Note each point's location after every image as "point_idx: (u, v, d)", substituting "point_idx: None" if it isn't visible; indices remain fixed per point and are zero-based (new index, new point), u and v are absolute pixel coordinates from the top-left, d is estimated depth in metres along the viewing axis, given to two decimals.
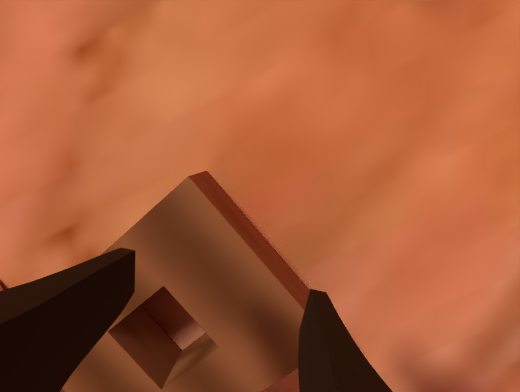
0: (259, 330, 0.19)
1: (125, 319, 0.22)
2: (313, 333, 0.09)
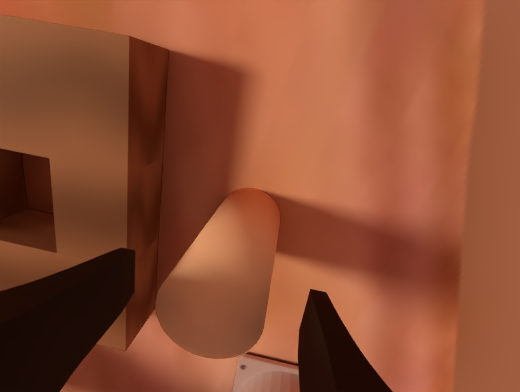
0: (56, 99, 0.14)
1: (3, 221, 0.19)
2: (313, 333, 0.09)
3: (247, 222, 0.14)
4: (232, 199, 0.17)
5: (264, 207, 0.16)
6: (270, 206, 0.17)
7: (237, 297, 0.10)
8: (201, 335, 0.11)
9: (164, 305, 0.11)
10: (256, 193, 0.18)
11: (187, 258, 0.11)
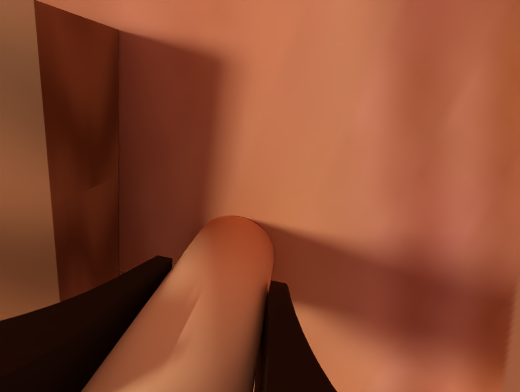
0: None
1: None
2: (266, 322, 0.10)
3: (221, 282, 0.09)
4: (207, 235, 0.12)
5: (251, 247, 0.12)
6: (259, 243, 0.13)
7: None
8: None
9: None
10: (241, 224, 0.13)
11: (108, 369, 0.06)
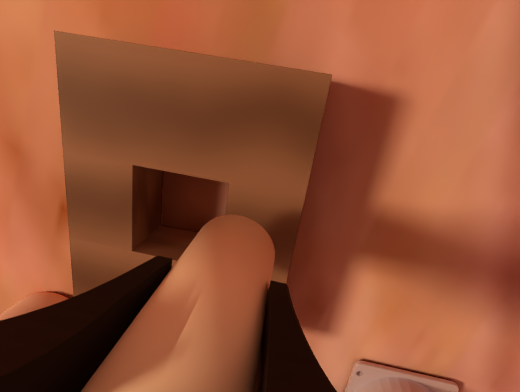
0: (247, 130, 0.15)
1: (151, 238, 0.20)
2: (266, 322, 0.10)
3: (222, 280, 0.09)
4: (208, 234, 0.12)
5: (251, 245, 0.12)
6: (260, 242, 0.13)
7: None
8: None
9: None
10: (242, 223, 0.13)
11: (109, 367, 0.06)
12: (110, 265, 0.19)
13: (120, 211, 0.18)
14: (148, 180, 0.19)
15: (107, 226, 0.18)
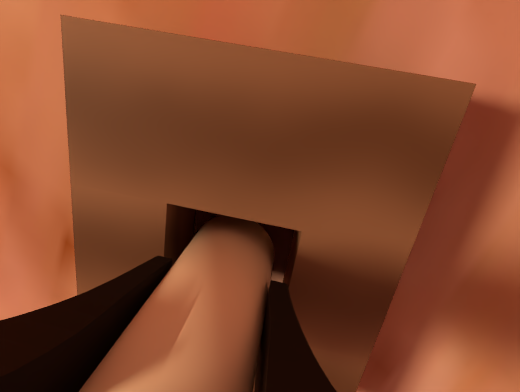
0: (336, 160, 0.11)
1: None
2: (266, 322, 0.10)
3: (221, 280, 0.09)
4: (207, 233, 0.12)
5: (251, 245, 0.12)
6: (259, 241, 0.13)
7: None
8: None
9: None
10: (241, 223, 0.13)
11: (107, 367, 0.06)
12: None
13: None
14: (182, 216, 0.14)
15: None
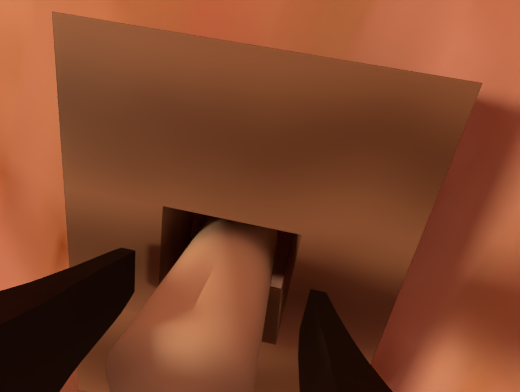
0: (337, 162, 0.10)
1: None
2: (313, 333, 0.09)
3: (234, 251, 0.11)
4: None
5: (257, 226, 0.14)
6: None
7: (214, 368, 0.07)
8: None
9: (117, 374, 0.08)
10: None
11: (149, 309, 0.08)
12: None
13: (142, 266, 0.13)
14: (179, 219, 0.14)
15: None
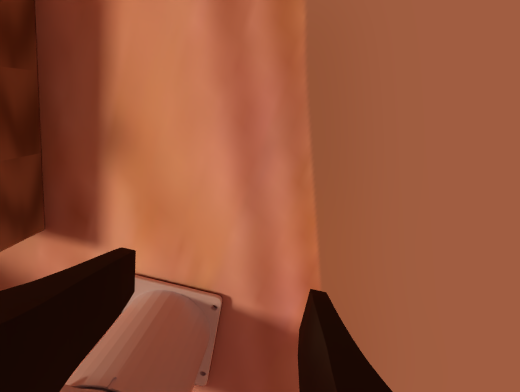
0: None
1: None
2: (313, 333, 0.09)
3: None
4: None
5: None
6: None
7: None
8: None
9: None
10: None
11: None
12: None
13: None
14: None
15: None
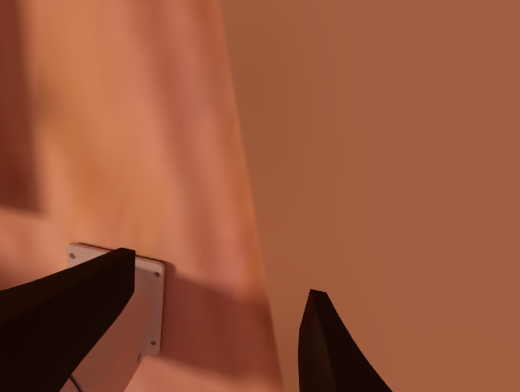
0: None
1: None
2: (313, 333, 0.09)
3: None
4: None
5: None
6: None
7: None
8: None
9: None
10: None
11: None
12: None
13: None
14: None
15: None
